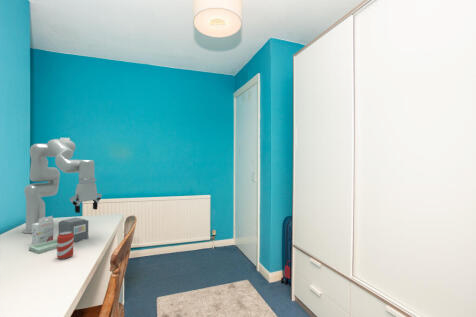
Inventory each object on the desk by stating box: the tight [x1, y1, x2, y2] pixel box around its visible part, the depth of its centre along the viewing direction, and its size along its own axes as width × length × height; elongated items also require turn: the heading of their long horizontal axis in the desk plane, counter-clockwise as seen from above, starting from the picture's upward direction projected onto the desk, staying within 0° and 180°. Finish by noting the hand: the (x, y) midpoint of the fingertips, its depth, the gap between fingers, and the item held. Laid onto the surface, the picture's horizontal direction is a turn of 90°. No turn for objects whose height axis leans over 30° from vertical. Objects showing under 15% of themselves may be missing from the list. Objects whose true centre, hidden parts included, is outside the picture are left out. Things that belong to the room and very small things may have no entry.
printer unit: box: [57, 217, 89, 244], centre depth 136 cm, size 12×10×12 cm
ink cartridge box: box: [31, 215, 54, 246], centre depth 130 cm, size 9×5×15 cm, turn 168°
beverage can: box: [56, 231, 75, 260], centre depth 111 cm, size 6×6×12 cm
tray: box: [28, 239, 57, 254], centre depth 123 cm, size 10×14×2 cm
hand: (86, 210), depth 131 cm, fingers open, 9 cm apart
